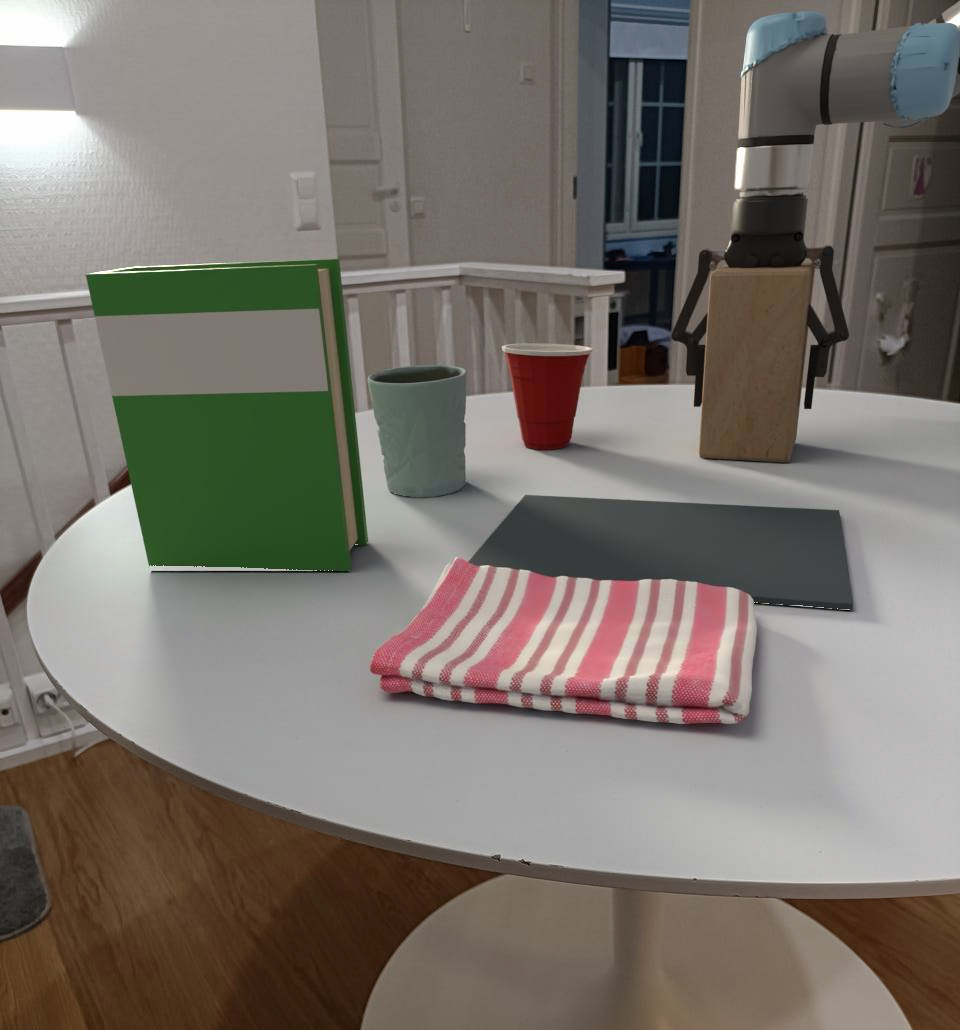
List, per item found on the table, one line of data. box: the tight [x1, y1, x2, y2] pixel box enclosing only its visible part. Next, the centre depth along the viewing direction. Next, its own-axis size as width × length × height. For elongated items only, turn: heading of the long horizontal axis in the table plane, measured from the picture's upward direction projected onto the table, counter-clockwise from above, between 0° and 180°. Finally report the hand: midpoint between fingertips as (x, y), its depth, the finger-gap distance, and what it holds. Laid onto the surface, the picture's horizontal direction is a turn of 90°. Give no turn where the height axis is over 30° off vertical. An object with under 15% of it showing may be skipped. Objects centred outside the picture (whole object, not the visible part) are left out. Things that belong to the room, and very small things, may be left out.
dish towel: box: [369, 556, 758, 725], centre depth 60 cm, size 17×23×4 cm
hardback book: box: [85, 257, 369, 572], centre depth 76 cm, size 18×7×24 cm, turn 84°
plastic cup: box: [501, 343, 594, 451], centre depth 111 cm, size 11×11×12 cm
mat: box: [467, 494, 854, 611], centre depth 79 cm, size 30×22×1 cm
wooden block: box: [698, 261, 816, 463], centre depth 102 cm, size 10×10×20 cm
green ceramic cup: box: [367, 364, 468, 498], centre depth 96 cm, size 10×10×12 cm
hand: (751, 405), depth 104 cm, fingers open, 11 cm apart
